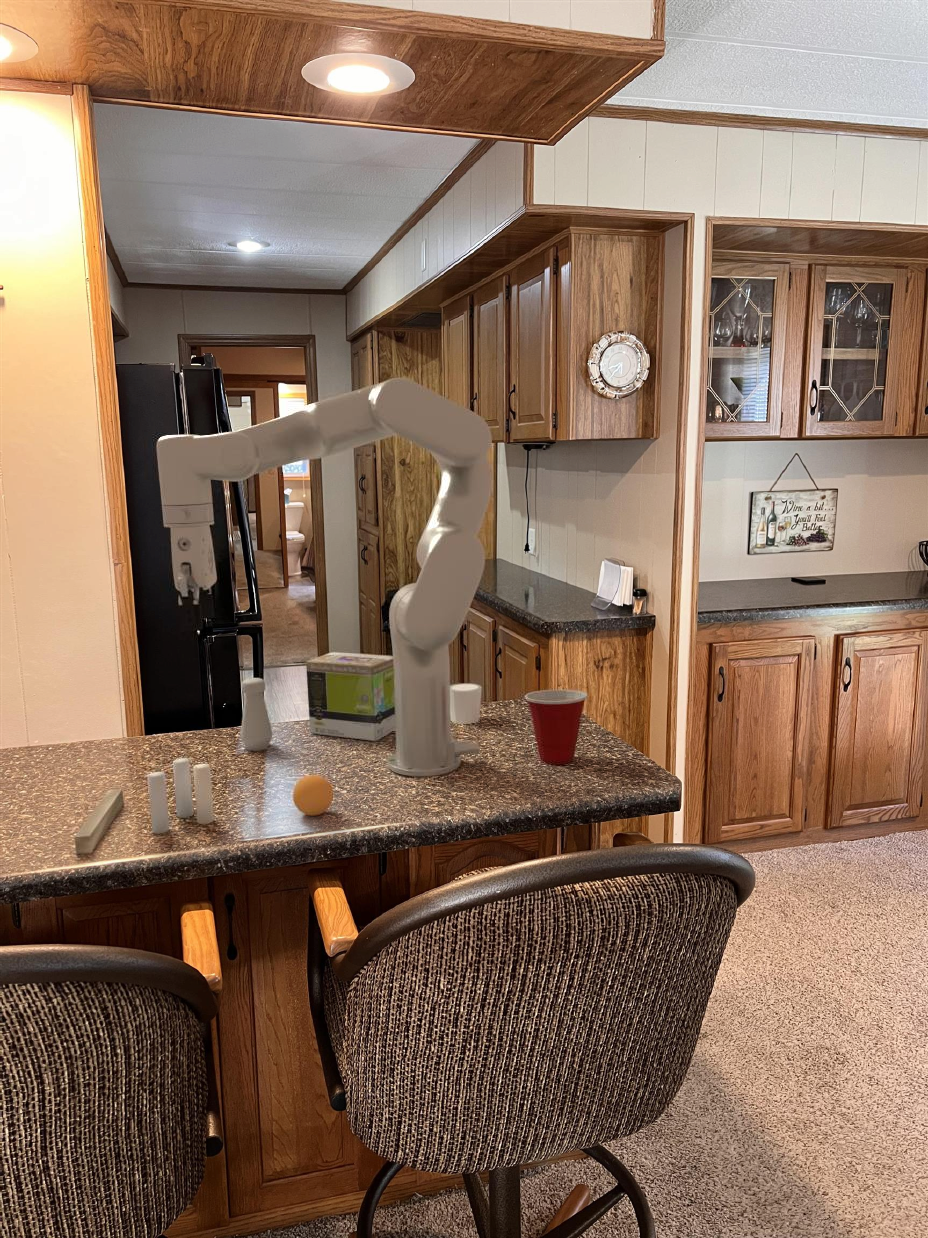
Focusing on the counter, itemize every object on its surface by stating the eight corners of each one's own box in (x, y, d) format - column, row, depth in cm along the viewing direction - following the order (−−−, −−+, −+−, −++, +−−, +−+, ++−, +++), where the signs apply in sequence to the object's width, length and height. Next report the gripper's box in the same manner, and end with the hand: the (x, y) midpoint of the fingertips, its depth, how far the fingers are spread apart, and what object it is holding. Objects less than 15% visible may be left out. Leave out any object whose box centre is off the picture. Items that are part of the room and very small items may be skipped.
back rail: (123, 804, 145) (122, 789, 144) (91, 853, 127) (89, 836, 127) (110, 804, 144) (109, 789, 144) (76, 854, 127) (74, 837, 126)
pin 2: (194, 811, 141) (190, 758, 140) (192, 817, 139) (187, 763, 137) (178, 812, 141) (174, 759, 139) (175, 818, 139) (171, 764, 137)
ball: (334, 805, 142) (332, 768, 141) (333, 820, 136) (331, 782, 135) (295, 807, 142) (293, 770, 141) (292, 823, 136) (290, 784, 135)
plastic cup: (571, 746, 168) (571, 682, 166) (598, 765, 158) (598, 697, 155) (515, 753, 164) (515, 688, 162) (539, 773, 154) (539, 704, 152)
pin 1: (170, 826, 136) (166, 771, 134) (167, 833, 133) (162, 777, 132) (154, 827, 135) (149, 772, 134) (150, 834, 133) (145, 778, 131)
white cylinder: (447, 716, 188) (446, 683, 187) (480, 715, 189) (479, 681, 187) (449, 726, 181) (448, 692, 180) (484, 725, 182) (483, 690, 181)
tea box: (401, 728, 181) (398, 654, 178) (375, 743, 172) (372, 666, 169) (336, 720, 187) (332, 649, 185) (308, 734, 178) (304, 660, 176)
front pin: (215, 817, 139) (211, 763, 137) (212, 823, 136) (208, 768, 135) (198, 818, 138) (194, 764, 137) (196, 824, 136) (191, 769, 134)
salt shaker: (265, 753, 168) (261, 683, 165) (236, 751, 169) (231, 682, 166) (278, 743, 173) (274, 676, 171) (249, 741, 174) (245, 675, 172)
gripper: (202, 519, 135) (212, 634, 138) (222, 511, 152) (230, 613, 155) (150, 521, 134) (161, 636, 137) (175, 513, 151) (185, 615, 154)
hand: (198, 624), depth 146 cm, fingers open, 9 cm apart
